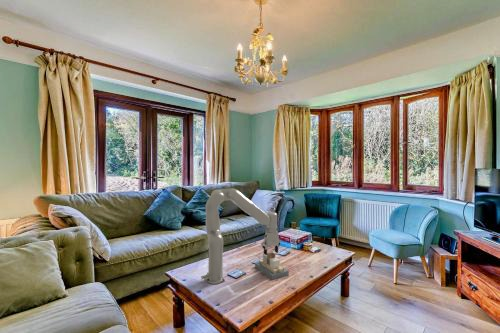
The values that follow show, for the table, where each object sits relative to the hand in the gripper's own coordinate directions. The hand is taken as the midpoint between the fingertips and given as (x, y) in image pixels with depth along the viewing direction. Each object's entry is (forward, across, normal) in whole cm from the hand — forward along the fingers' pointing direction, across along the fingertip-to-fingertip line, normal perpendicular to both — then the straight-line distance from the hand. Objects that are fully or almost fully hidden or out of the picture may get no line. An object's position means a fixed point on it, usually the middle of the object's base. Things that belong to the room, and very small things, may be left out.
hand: (270, 253), depth 166 cm
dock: (+14, +1, 0) cm, 14 cm away
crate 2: (+8, 0, -4) cm, 9 cm away
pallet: (+10, 0, 0) cm, 10 cm away
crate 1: (+8, 0, +5) cm, 9 cm away
